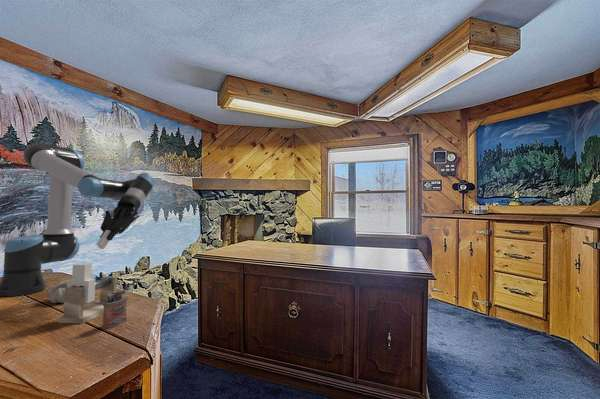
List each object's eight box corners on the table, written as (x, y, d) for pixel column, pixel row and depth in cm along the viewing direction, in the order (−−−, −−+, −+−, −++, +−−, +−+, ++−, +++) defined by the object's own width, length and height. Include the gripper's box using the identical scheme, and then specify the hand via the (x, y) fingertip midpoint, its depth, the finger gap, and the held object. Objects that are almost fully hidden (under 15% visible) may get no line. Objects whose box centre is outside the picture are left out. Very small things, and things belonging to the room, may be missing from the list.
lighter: (108, 330, 86) (110, 295, 86) (98, 328, 87) (100, 294, 87) (129, 320, 94) (130, 288, 94) (120, 319, 95) (121, 288, 95)
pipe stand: (99, 304, 109) (100, 275, 109) (120, 305, 109) (121, 276, 109) (57, 322, 91) (59, 288, 91) (82, 323, 91) (84, 288, 91)
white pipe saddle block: (73, 299, 96) (75, 263, 97) (94, 300, 96) (96, 263, 97) (66, 302, 93) (68, 264, 94) (87, 303, 93) (89, 265, 94)
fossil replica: (47, 307, 105) (81, 304, 113) (52, 284, 106) (85, 282, 113) (41, 298, 113) (73, 295, 120) (45, 276, 113) (77, 275, 121)
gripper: (150, 208, 123) (122, 253, 106) (120, 207, 124) (87, 252, 106) (143, 194, 118) (113, 240, 101) (112, 194, 119) (76, 239, 101)
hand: (100, 246), depth 103 cm, fingers closed
